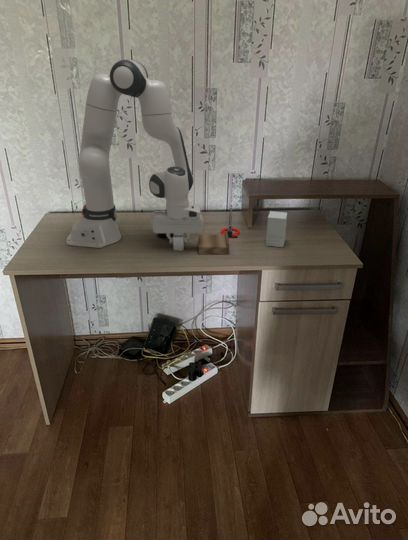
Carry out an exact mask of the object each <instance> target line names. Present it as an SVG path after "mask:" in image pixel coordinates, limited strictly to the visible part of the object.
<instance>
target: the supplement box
mask: <svg viewBox="0 0 408 540" xmlns="http://www.w3.org/2000/svg"><path fill="white" fill-rule="evenodd" d="M287 220H288V212H284V211H273V210H269V213H268V216H267V221H266V222H267V223H266V224H267V225H266V237H265V239H266V241H265V246H268V247H276V248H284V246H285V242H286V231H287V222H288V221H287Z"/></svg>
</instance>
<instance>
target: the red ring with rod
mask: <svg viewBox="0 0 408 540" xmlns="http://www.w3.org/2000/svg"><path fill="white" fill-rule="evenodd" d="M228 216H229V217H228V226H227V227H225V228H222V229H221V230H220V233H221V235H225V231H227V232H228V238H236V239H237V238H238V236H239V235H240V234H241V231H240V229H238V228H235V227H233V226H232V225H233V223H232V222H233V207H230V208H229V213H228ZM233 232H234V233H233Z"/></svg>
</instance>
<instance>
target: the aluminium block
mask: <svg viewBox="0 0 408 540" xmlns="http://www.w3.org/2000/svg"><path fill="white" fill-rule="evenodd" d="M184 237H185V233H174V234H173V243H172V244H173V251H178V252H179V251H180V252H182V251H185V250H184V248H185V243H184Z"/></svg>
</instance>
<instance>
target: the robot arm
mask: <svg viewBox="0 0 408 540" xmlns="http://www.w3.org/2000/svg"><path fill="white" fill-rule="evenodd" d="M123 95H125V96H129V97H133V98H137V99H138V101H139V102H138V103H139V105H140V112H141V121H142V122H141V123H142V128H143V129H144V131H145V132H146V134H147V135H148V136H149V137H151V138H153V139H155V140H159V141H162V142H164V143H166V144H167V145H169V147H170V150H171V154H172V158H173V163H174V166H169V167H167V168H166V169H165V170H164V171H160V172H159V171H158V172H157V173H154V174H151V176H150V178H149V181H148V186H149V187H148V188H149V191H150V193H151V194H152V195H153V196H154V197H156V198H158V199H159V198H160V199H165V205H166V207H165V208H166V209H160V210H159V209H156V210H153V211H152V212H151V214H150V215H151V216H150V217H151V220H152V233H154V234H157V233H166V235H167V237H168V239H169V244H173V237H171V236H170V234H171V233H184V234H186V236H184V244H188V241H189V240H188V239H190V237H191V234H203V232H204V229H205V228H204V226H205V225H204V219H203V215H202V214H201V208H200V206H198V205H194V204H191V203H190V200H189V193H190V191H191V189H192V188H193V185H194V176H193V173H192V170H191V169H190V165H189V160H188V156H187V150H186V146H185V142H184V137H183V135H182V131H181V129H180V128H179V127H178V126H176V124H175V121H174V118H173V113H172V112H173V111H172V104H171V99H170V94H169V91H168V86H167V85H166V84H165V83H164V82H163V81H161V80H158V79H149V75H148V71H147V69H146V67H145V65H143V64H142V63H141V62H140V61H137V60H135V59H129V58H128V59H120V60H118V61H116V62H115V63H114V64H113V65H112V67H111V69H110V72H109V74H108V73H96V74H94V75H93V76H92V79H91V80H90V84H89V87H88V91H87V95H86V101H85V102H86V103H85V108H84V115H83V116H84V118H83V123H82V124H83V126H82V133H81V143H80V152H79V157H78V160H77V161H78V167H79V173H80V178H81V184H82V187H83V194H84V200H85V203H84V205H83V207H82V210H81V217H79V218H78V219H77V220H76V221H75V222H74V223H73V225H72V226H71V231H70V234H69V235H67V238H66V244H67V245H68V246H73V247H86V248H97V249H101V248H104V247H106V246H109V245H112V244H114V243H117V242H119V241H120V240H121V239H122V234H121V232H120V229H119V226H118V221H117V218H118V216H117V209H116V205H115V203H114V201H115V200H114V194H113V186H112V176H111V168H110V152H111V146H112V142H113V136H114V133H115V125H116V118H117V114H118V113H117V112H118V106H119V101H120V97H121V96H123Z"/></svg>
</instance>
